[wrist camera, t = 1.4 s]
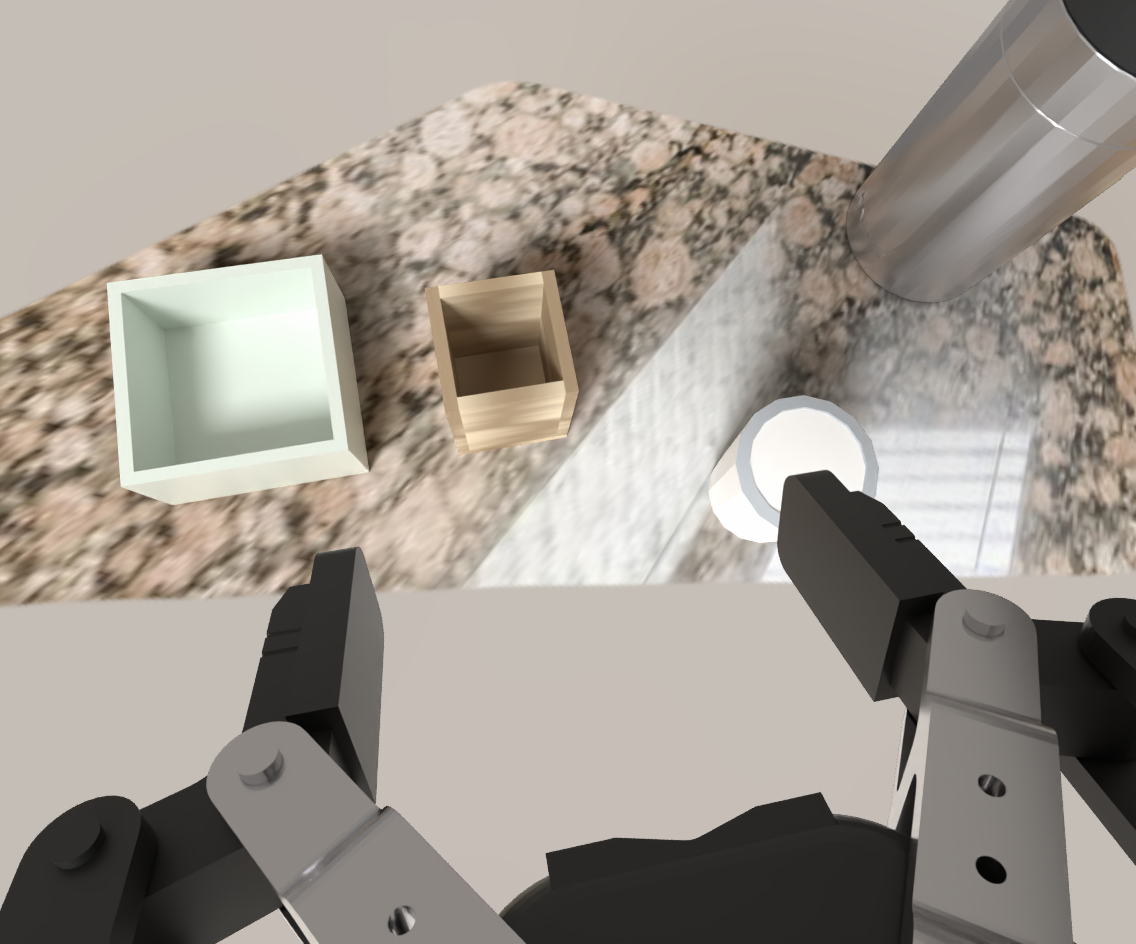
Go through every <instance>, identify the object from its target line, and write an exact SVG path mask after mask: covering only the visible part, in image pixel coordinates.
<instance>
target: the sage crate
mask: <svg viewBox="0 0 1136 944" xmlns="http://www.w3.org/2000/svg"><path fill="white" fill-rule="evenodd" d="M107 291H108V306H109V320H110V335H111V350H112V364H113V379H114V393H115V408H116V423H117V437H118V452H119V466H120V481H121V487H123V488H125V489H128V490H131V491H134V492H137V493H140V494H142V495H145V496H148V497H151V498H154V499H157V500H160V501H162V502H165V503H168V504H171V505H177V504H183V503H189V502H195V501H201V500H207V499H212V498H218V497H224V496H230V495H236V494H242V493H248V492H254V491H260V490H266V489H272V488H278V487H283V486H289V485H295V484H301V483H307V482H313V481H319V480H325V479H331V478H337V477H343V476H349V475H355V474H360V473H366V472H369V465H368V458H367V451H366V444H365V437H364V429H363V422H362V415H361V408H360V401H359V394H358V387H357V380H356V373H355V365H354V358H353V351H352V344H351V337H350V330H349V323H348V316H347V309H346V301H345V298H344V296H343V294H342V292H341V290H340V288H339V286H338V285H337V283H336V281H335V279H334V277H333V275H332V273H331V271H330V269H329V267H328V265H327V263H326V261H325V259H324V258H323V256H322V254H321V255H313V256H306V257H298V258H291V259H283V260H276V261H268V262H261V263H253V264H246V265H238V266H231V267H223V268H216V269H208V270H201V271H193V272H186V273H178V274H171V275H163V276H156V277H148V278H141V279H133V280H126V281H118V282H111V283H107Z"/></svg>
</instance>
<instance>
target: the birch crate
mask: <svg viewBox="0 0 1136 944" xmlns="http://www.w3.org/2000/svg"><path fill="white" fill-rule="evenodd" d="M425 292H426V298H427V304H428V310H429V316H430V322H431V328H432V334H433V340H434V346H435V352H436V358H437V364H438V371H439V377H440V383H441V389H442V395H443V401H444V407H445V413H446V416H447V419H448V422H449V425H450V428H451V431H452V434H453V437H454V440H455V443H456V446H457V449H458V452H459V455H464V454H470V453H475V452H481V451H487V450H493V449H499V448H505V447H511V446H517V445H523V444H529V443H535V442H541V441H547V440H553V439H558V438H564V437H567V433H568V429H569V426H570V422H571V418H572V415H573V411H574V407H575V404H576V400H577V396H578V393H579V389H578V384H577V379H576V374H575V369H574V364H573V360H572V355H571V350H570V345H569V340H568V335H567V330H566V326H565V321H564V316H563V311H562V306H561V301H560V296H559V292H558V287H557V282H556V277H555V272H554V270H549V271H542V272H535V273H528V274H521V275H514V276H507V277H500V278H493V279H486V280H478V281H471V282H464V283H457V284H450V285H443V286H436V287H429V288H425Z"/></svg>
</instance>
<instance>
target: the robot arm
mask: <svg viewBox="0 0 1136 944" xmlns="http://www.w3.org/2000/svg"><path fill="white" fill-rule="evenodd" d="M1135 167H1136V0H1009V1H1008V2H1007V3H1006V5H1005V6H1004V7H1003V9H1002V10H1001V11H1000V12H999V13H998V15H997V16H996V17H995V18H994V20H993V21H992V22H991V24H990V25H989V26H988V27H987V29H986V30H985V31H984V32H983V34H982V35H981V36H980V37H979V39H978V40H977V41H976V42H975V44H974V45H973V46H972V47H971V49H970V50H969V51H968V52H967V54H966V55H965V56H964V58H963V59H962V60H961V61H960V63H959V64H958V65H957V66H956V68H955V69H954V70H953V71H952V73H951V74H950V75H949V76H948V78H947V79H946V80H945V81H944V83H943V84H942V85H941V86H940V88H939V89H938V90H937V91H936V93H935V94H934V95H933V97H932V98H931V99H930V100H929V102H928V103H927V104H926V105H925V107H924V108H923V109H922V110H921V112H920V113H919V114H918V115H917V117H916V118H915V119H914V120H913V122H912V123H911V124H910V126H909V127H908V128H907V129H906V130H905V132H904V133H903V134H902V136H901V137H900V138H899V139H898V141H897V142H896V143H895V144H894V146H893V147H892V148H891V149H890V150H889V152H888V153H887V154H886V156H885V157H884V158H883V159H882V161H881V162H880V163H879V164H878V166H877V167H876V168H875V169H874V171H873V172H872V173H871V174H870V176H869V177H868V178H867V179H866V181H865V182H864V183H863V184H862V186H861V187H860V188H859V190H858V191H857V192H856V194H855V196H854V198H853V199H852V201H851V203H850V207H849V210H848V214H847V235H848V240H849V245H850V247H851V249H852V252H853V254H854V257H855V258H856V260H857V261H858V263H859V264H860V266H861V267H862V269H863V270H864V272H865V273H866V274H867V275H868V276H869V277H870V278H871V279H872V280H873V281H874V282H876V283H877V284H878V285H880V286H881V287H883V288H884V289H886V290H887V291H889V292H891V293H893V294H895V295H897V296H900V297H902V298H905V299H909V300H913V301H917V302H939V301H945V300H949V299H952V298H954V297H957V296H959V295H961V294H963V293H964V292H966V291H967V290H968V289H970V288H971V287H972V286H974V285H975V284H977V283H978V282H979V281H981V280H982V279H984V278H985V277H986V276H988V275H989V274H990V273H992V272H993V271H995V270H997V269H999V268H1001V267H1002V266H1003V265H1005V264H1006V263H1007V262H1009V261H1010V260H1011V259H1013V258H1014V257H1016V256H1017V255H1018V254H1020V253H1021V252H1022V251H1024V250H1025V249H1026V248H1028V247H1029V246H1031V245H1032V244H1033V243H1035V242H1036V241H1037V240H1039V239H1040V238H1041V237H1043V236H1044V235H1045V234H1047V233H1048V232H1050V231H1051V230H1052V229H1054V228H1055V227H1056V226H1058V225H1059V224H1060V223H1062V222H1063V221H1065V220H1066V219H1067V218H1069V217H1070V216H1071V215H1073V214H1074V213H1075V212H1077V211H1078V210H1080V209H1081V208H1082V207H1084V206H1085V205H1086V204H1088V203H1089V202H1090V201H1092V200H1093V199H1094V198H1096V197H1097V196H1099V195H1100V194H1101V193H1103V192H1104V191H1105V190H1107V189H1108V188H1109V187H1111V186H1112V185H1114V184H1115V183H1116V182H1117V181H1119V180H1120V179H1121V178H1122V177H1123V176H1124V175H1125V174H1127V173H1128V172H1129V171H1131V170H1132V169H1134V168H1135ZM777 547H778V553H779V557H780V561H781V563H782V566H783V568H784V570H785V571H786V573H787V574H788V576H789V577H790V579H791V580H792V582H793V583H794V585H795V586H796V588H797V589H798V591H799V592H800V594H801V595H802V596H803V598H804V600H805V601H806V602H807V604H808V605H809V607H810V608H811V610H812V611H813V613H814V614H815V616H816V617H817V618H818V620H819V622H820V623H821V625H822V626H823V627H824V629H825V631H826V632H827V633H828V635H829V636H830V638H831V639H832V641H833V642H834V644H835V645H836V647H837V648H838V650H839V651H840V653H841V654H842V655H843V657H844V658H845V660H846V661H847V663H848V664H849V665H850V667H851V669H852V670H853V672H854V673H855V675H856V676H857V678H858V679H859V680H860V682H861V684H862V685H863V687H864V688H865V689H866V691H867V692H868V694H869V695H870V697H871V698H872V700H873V701H874V702H876V701H880V700H885V699H890V698H895V697H899V698H900V699H901V700H902V702H903V703H904V705H905V706H906V709H905V712H904V716H903V719H902V727H901V734H900V742H899V749H898V757H897V765H896V772H895V780H894V787H893V795H892V802H891V808H890V814H889V819H888V823H887V827H886V826H883V825H881V824H879V823H876V822H873V821H869V820H865V819H862V818H858V817H853V816H847V815H840V814H832V813H831V811H830V809H829V807H828V805H827V803H826V801H825V800H824V797H823V795H822V794H821V792H819V793H815V794H810V795H806V796H801V797H797V798H792V799H788V800H783V801H779V802H774V803H770V804H765V805H761V806H756V807H754V808H752V809H750V810H748V811H747V812H745V813H743V814H741V815H739V816H737V817H736V818H734V819H732V820H730V821H728V822H726V823H725V824H723V825H721V826H719V827H717V828H715V829H714V830H712V831H710V832H708V833H706V834H704V835H702V836H701V837H699V838H696V839H693V840H658V839H635V838H633V839H632V838H612V839H608V840H604V841H599V842H594V843H590V844H586V845H581V846H576V847H572V848H567V849H563V850H559V851H554V852H549V853H546V859H547V865H548V871H549V876H547V877H546V878H544V879H542V880H540V881H538V882H536V883H534V884H533V885H532V886H530V887H529V888H527V889H526V890H525V891H523V892H522V893H520V894H519V895H518V896H517V897H516V898H515V899H514V900H512V902H510V903H509V904H508V905H507V906H506V907H505V908H504V909H503V910H502V911H501V913H500V914H499V915H497V913H496V912H495V911H494V910H493V909H492V908H491V907H490V906H489V905H488V904H487V903H486V902H485V901H484V900H483V899H482V898H481V897H480V896H479V895H478V894H477V893H476V892H475V891H474V890H473V889H472V888H471V886H470V885H469V884H468V883H466V881H465V880H464V879H463V878H462V877H461V876H460V875H459V874H458V873H457V872H456V871H455V870H454V869H453V868H452V867H451V866H450V865H449V864H448V863H447V862H446V861H445V860H444V859H443V858H442V857H441V856H440V855H439V854H438V853H437V851H436V850H435V849H433V847H431V845H430V844H429V843H428V842H427V841H426V840H425V839H424V838H423V837H422V836H421V835H420V834H419V833H418V832H417V831H416V830H415V829H414V828H413V827H412V826H411V825H410V824H409V823H408V822H407V821H406V820H405V819H404V818H403V817H402V816H401V815H400V814H399V813H398V812H397V811H396V810H394V809H393V808H391V807H389V806H386V807H384V808H383V809H380V808H379V807H377V806H376V805H375V804H376V789H377V768H378V748H379V730H380V709H381V691H382V670H383V651H384V632H383V623H382V617H381V612H380V608H379V604H378V601H377V598H376V594H375V591H374V588H373V584H372V581H371V578H370V574H369V571H368V568H367V564H366V561H365V558H364V554H363V552H362V550H361V548H360V547H353V548H347V549H341V550H335V551H329V552H323V553H318V554H316V556H315V559H314V564H313V570H312V575H311V580H310V584H304V585H298V586H293V587H289V588H288V590H287V591H286V592H285V594H284V595H283V596H282V598H281V599H280V600H279V602H278V603H277V604H276V606H275V607H274V608H273V610H272V613H271V617H270V622H269V626H268V630H267V638H265V642H264V646H263V650H262V657H261V658H260V662H259V666H258V670H257V674H256V679H255V683H254V687H253V691H252V695H251V699H250V703H249V707H248V711H247V716H246V719H245V723H244V727H243V731H242V734H240V735H238V736H237V737H236V738H234V739H233V740H232V741H230V742H229V743H228V744H227V745H226V746H225V747H224V748H223V749H222V750H221V752H220V753H219V754H218V755H217V757H216V758H215V760H214V762H213V763H212V765H211V767H210V770H209V772H208V775H207V776H206V777H205V778H203V779H201V780H200V781H198V782H197V783H195V784H193V785H191V786H189V787H187V788H185V789H183V790H181V791H179V792H177V793H175V794H173V795H170V796H168V797H166V798H164V799H162V800H160V801H157V802H155V803H153V804H151V805H149V806H147V807H145V808H142V809H140V810H139V809H138V807H137V806H136V805H135V803H133V802H132V801H131V800H129V799H127V798H124V797H120V796H104V797H98V798H95V799H92V800H88V801H86V802H83V803H81V804H79V805H77V806H75V807H73V808H71V809H69V810H68V811H66V812H65V813H63V814H62V815H61V816H59V817H57V818H56V819H55V820H54V821H53V822H51V823H50V824H49V825H48V826H47V827H46V828H45V829H44V830H43V831H42V832H41V833H40V834H39V835H38V836H37V837H36V838H35V839H34V841H33V842H32V843H31V844H30V846H29V847H28V849H27V851H26V852H25V854H24V856H23V858H22V860H21V862H20V864H19V867H18V869H17V871H16V874H15V876H14V879H13V881H12V883H11V886H10V888H9V891H8V893H7V896H6V898H5V900H4V903H3V905H2V908H1V910H0V944H216V943H217V942H219V941H221V940H223V939H225V938H226V937H228V936H230V935H232V934H234V933H235V932H237V931H239V930H241V929H243V928H244V927H246V926H248V925H250V924H251V923H253V922H255V921H257V920H259V919H260V918H262V917H264V916H266V915H268V914H269V913H271V912H273V911H275V910H276V909H277V910H278V911H279V912H280V914H281V915H282V917H283V918H284V920H285V921H286V922H287V924H288V925H289V927H290V928H291V929H292V931H293V932H294V933H295V935H296V936H297V937H298V939H299V941H300V942H301V943H302V944H1076V943H1075V942H1073V937H1072V936H1073V935H1072V922H1071V909H1070V897H1069V896H1070V895H1069V881H1068V869H1067V855H1066V840H1065V827H1064V813H1063V801H1062V787H1061V773H1060V771H1061V772H1062V773H1063V774H1064V776H1065V777H1066V778H1067V780H1068V781H1069V782H1070V783H1071V784H1072V786H1073V787H1074V788H1075V790H1076V791H1077V792H1078V793H1079V795H1080V796H1081V797H1082V799H1083V800H1084V801H1085V802H1086V803H1087V805H1088V806H1089V807H1090V809H1091V810H1092V811H1093V812H1094V814H1095V815H1096V816H1097V817H1098V819H1099V820H1100V821H1101V823H1102V824H1103V825H1104V826H1105V827H1106V829H1107V830H1108V831H1109V833H1110V834H1111V835H1112V836H1113V837H1114V839H1115V840H1116V841H1117V842H1118V844H1119V845H1120V846H1121V848H1122V849H1123V850H1124V852H1125V853H1126V854H1127V855H1128V857H1129V858H1130V859H1131V860H1132V861H1133V863H1134V864H1135V865H1136V600H1134V599H1127V598H1111V599H1110V598H1109V599H1105V600H1101V601H1099V602H1097V603H1096V604H1095V605H1093V606H1092V608H1091V609H1090V611H1089V614H1088V615H1087V618H1086V620H1085V622H1084V623H1081V622H1065V621H1051V620H1036V619H1035V620H1034V619H1031V618H1030V617H1029V616H1028V615H1027V614H1026V613H1025V612H1024V611H1023V610H1022V609H1021V608H1020V607H1018V606H1017V605H1015V604H1014V603H1012V602H1011V601H1009V600H1007V599H1005V598H1003V597H1001V596H998V595H995V594H992V593H989V592H985V591H980V590H971V589H966V588H965V587H964V586H963V585H962V583H961V582H960V581H959V580H958V579H957V578H956V577H955V576H954V575H953V574H952V573H951V572H950V571H949V570H948V569H947V568H946V567H945V566H944V565H943V564H942V563H941V562H940V561H939V560H938V559H937V558H936V557H935V556H934V555H933V554H932V553H931V552H930V551H929V550H928V549H927V548H926V547H925V546H924V545H923V544H922V543H921V542H920V541H919V540H916V539H915V535H914V534H913V533H912V532H911V531H910V530H909V529H908V528H907V527H906V526H905V525H901V521H900V520H899V519H898V518H897V517H896V516H895V515H894V514H893V513H892V512H891V511H890V510H889V509H888V508H887V507H886V506H885V505H884V504H883V503H881V502H879V501H877V500H875V499H873V498H872V497H870V496H868V495H866V494H864V493H862V492H860V491H853V492H850V491H849V490H848V489H847V488H846V487H845V486H844V485H843V484H842V483H841V481H840V480H839V479H838V478H837V477H836V476H835V475H834V474H833V473H832V472H831V471H829V470H820V471H814V472H808V473H802V474H796V475H790V476H788V477H787V478H786V479H785V482H784V486H783V493H782V502H781V511H780V519H779V528H778V536H777Z"/></svg>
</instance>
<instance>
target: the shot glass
mask: <svg viewBox="0 0 1136 944" xmlns="http://www.w3.org/2000/svg"><path fill="white" fill-rule="evenodd" d="M820 470H829V471H831V472H832V473H833V474H834V475H835V476H836V477H837V478H838V479H839V480H840V481H841V483H842V484H843V485H844V486H845V487H846V488H847V489H848V490H849V491H850V492H853V491H860V492H862V493H864V494H866V495H868V496H870V497H872V498H873V499H874V497H875V495H876V488H877V479H878V471H879V467H878V463H877V459H876V456H875V452H874V449H873V445H872V441H871V439H870V438H869V437H868V435H867V434H866V433H865V431H864V430H863V429H862V427H861V426H860V424H859V423H858V422H857V420H856V419H855V418H854V417H853V416H852V415H850V414H849V413H847V412H846V411H844V410H843V409H841V408H840V407H838V406H837V405H835V404H834V403H832V402H830V401H826V400H822V399H817V398H813V397H809V396H805V395H802V396H796V397H789V398H783V399H777V400H775V401H774V402H772V403H771V404H769V405H767V406H766V407H764V408H763V409H761V410H759V411H758V412H756V413H755V414H754V415H753V416H752V418H751V419H750V420H749V422H748V423H747V424H746V426H745V427H744V428H743V430H742V431H741V432H740V434H739V435H738V436H737V438H736V439H735V440H734V441H733V443H732V444H731V445H730V447H729V448H728V449H727V451H726V452H725V453H724V455H723V456H722V457H721V459H720V460H719V462H718V463H717V465H716V467H715V468H714V470H713V471H712V473H711V479H710V485H709V496H710V500H711V505H712V509H713V511H714V513H715V514H716V516H717V517H718V519H719V520H720V522H721V523H722V525H723V526H724V527H725V528H726V529H728V530H729V531H731V532H732V533H734V534H735V535H737V536H738V537H740V538H742V539H746V540H751V541H755V542H759V543H762V542H776V541H777V536H778V528H779V519H780V511H781V502H782V493H783V486H784V482H785V479H786V478H787V477H788V476H790V475H796V474H802V473H808V472H814V471H820Z"/></svg>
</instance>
